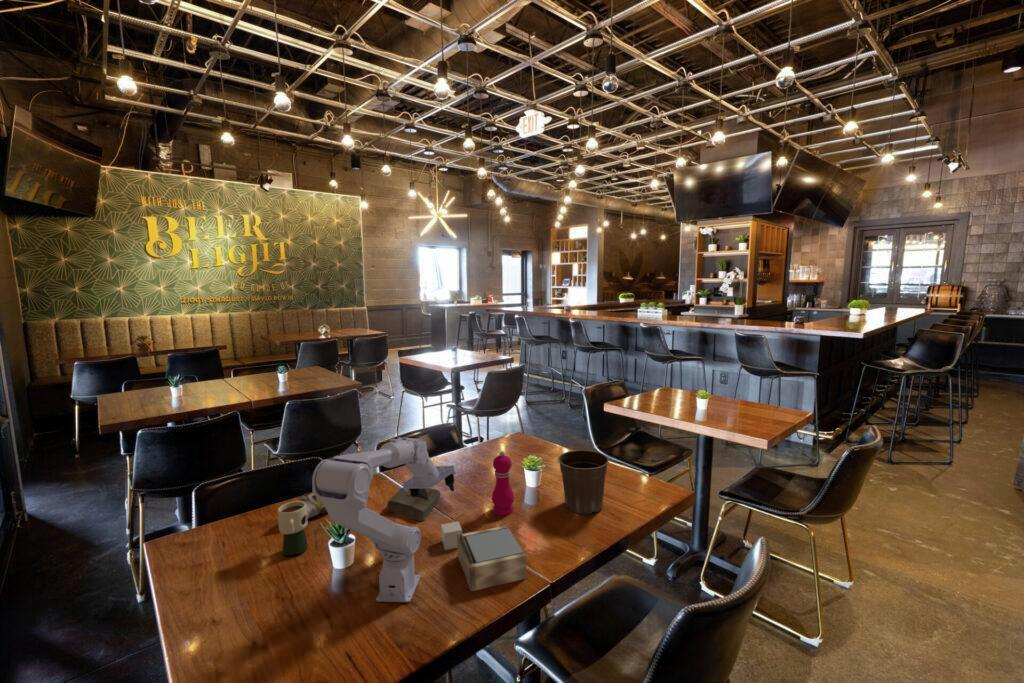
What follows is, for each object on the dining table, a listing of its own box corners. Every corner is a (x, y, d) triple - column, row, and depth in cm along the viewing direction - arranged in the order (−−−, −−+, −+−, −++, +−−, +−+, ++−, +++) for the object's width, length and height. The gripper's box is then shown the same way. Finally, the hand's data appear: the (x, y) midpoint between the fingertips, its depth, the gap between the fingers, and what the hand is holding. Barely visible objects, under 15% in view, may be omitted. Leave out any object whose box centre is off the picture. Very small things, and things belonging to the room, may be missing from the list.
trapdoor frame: (470, 591, 106) (470, 564, 105) (457, 556, 121) (457, 532, 120) (526, 578, 111) (525, 552, 110) (507, 545, 125) (506, 522, 124)
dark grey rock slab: (423, 522, 139) (423, 510, 138) (381, 518, 142) (380, 505, 142) (444, 498, 155) (443, 486, 154) (405, 494, 158) (404, 483, 158)
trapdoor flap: (476, 566, 108) (476, 562, 108) (465, 540, 119) (465, 536, 119) (523, 555, 112) (523, 552, 111) (508, 531, 123) (508, 528, 123)
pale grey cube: (444, 550, 123) (444, 533, 123) (441, 541, 128) (441, 524, 128) (462, 546, 125) (462, 529, 124) (459, 537, 130) (458, 521, 129)
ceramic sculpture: (276, 497, 138) (315, 481, 152) (277, 524, 139) (316, 505, 152) (302, 503, 134) (339, 486, 148) (302, 531, 134) (340, 511, 148)
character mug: (308, 558, 121) (305, 513, 119) (279, 565, 118) (275, 518, 117) (310, 538, 131) (307, 496, 129) (283, 544, 128) (279, 500, 127)
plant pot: (555, 515, 141) (554, 466, 139) (561, 492, 157) (561, 448, 155) (607, 520, 137) (608, 470, 135) (609, 497, 153) (609, 451, 151)
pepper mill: (489, 508, 147) (487, 449, 144) (509, 503, 149) (508, 446, 147) (496, 518, 140) (494, 456, 138) (517, 513, 143) (516, 453, 140)
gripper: (447, 446, 121) (461, 471, 130) (395, 464, 121) (414, 488, 130) (450, 469, 116) (465, 493, 125) (397, 487, 115) (416, 510, 125)
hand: (439, 492), depth 127 cm, fingers open, 7 cm apart
